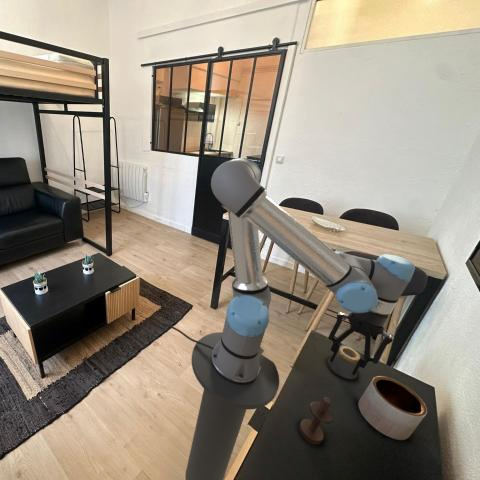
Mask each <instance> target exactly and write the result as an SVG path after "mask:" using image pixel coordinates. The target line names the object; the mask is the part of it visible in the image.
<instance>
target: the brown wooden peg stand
mask: <svg viewBox="0 0 480 480" xmlns="http://www.w3.org/2000/svg"><path fill="white" fill-rule="evenodd" d="M331 403H332V400H331V399H330V398H329V397H327V396H324V397H323V399H322V401H321V402H319V401H313V402H311V403H310V405H309V411H310V413H311V415H312V416H313V419H309V418H304V419H302V421H301V422H300V424H299V426H298V429H299V433H300V434H301V436H302V438H304V440H305V441H307V442H308V443H310V444H311V445H315V446H316V445H317V446H318V445H321V443H322V442H323V440H324V437H325V436H324V435H325V434H324V431H323V429H322V428H321V426H320V424H321V423H322V424H325V425H328V424H331V423H332V422H333V419H334V416H333V413H332V411H331V410H330V408H329V407H330V405H331Z"/></svg>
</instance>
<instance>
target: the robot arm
mask: <svg viewBox="0 0 480 480" xmlns="http://www.w3.org/2000/svg"><path fill="white" fill-rule="evenodd" d="M210 180H211V181H210V188H211V192H212V193H213V195H214V196H215V198H216V199H217V201H219V202H220V203H221V207H222V208H223V209H225V210H226V211H227V216H228V224H229V225H228V226H229V232H230V233H229V234H230V241H231V250H232V257H233V267H234V274H235V277H234V278H233V279H232V280H231V286H232V296H233V298H232V299H231V300H230V302H229V304H228V306H227V308H226V316H225V320H224V324H223V328H222V331H221V332H222V337H221V339H220V340H219V342H218V343H217V344H216V346H215V347H211V346H209V345H206V344H204V343H202V342H199V340H196V339H194V338H191V337H190V336H188V335H187V334H186V333H184V332H183V331H182V330H180V329H178V328H177V327H175V326H172V325H170V324H169V323H167V322H164V323H163V325H164V326H166V327H169V328H170V329H173V330H175V331H177V332H178V333H180V334H181V335H182V336H183V337H185V338H187V339H188V340H189V341H191V342H193V343H195V344H196V343H198V344H201V345H204V346H206V347H208V348H211V349H213V351H212V355H211V362H212V365H213V367H214V369H215V371H216V372H217V373H218V374H219V375H220V376H221V377H222V378H224V379H225V380H227V381H229V382H231V383H234V384H240V385H245V384H250V383H252V382H253V381H255V379H256V378H257V376H258V374H259V371H260V369H261V365H260V366H259V357H258V352H259V349H260V347H261V346H262V342H263V338H264V336H265V333H266V329H268V326H269V321H270V312H269V311H270V305H271V302H272V301H271V300H272V294H271V290H270V288H269V282H268V281H269V280H268V278H266V277H265V276H263V268H262V267H263V266H262V257H261V247H260V245H261V244H260V236H259V235H260V234H259V233H262V234H263V235H264V236H265V237H267V238H268V239H269V240H270V241H272V243H273V244H275V245H276V246H277V247H279V248H280V249H281V250H282V251H283V252H284V253H285V254H287V255H288V256H289V257H290V258H291V259H293V260H294V261H295V262H296V263H297V264H298V265H299V266H301V267H302V268H303V269H305V271H307V272H308V273H309V274H310V275H311V276H313V277H314V278H315V279H316V280H317V281H318V282H320V283H321V284H322V285H323V286H325V288H327V289H328V290H329V291H330V292H331V293H332V294H334V295H335V299H336V301H337V302H338V304H339V306H340V307H341V308H343V309H344V310H345V311H347V312H350V313H344V311H342V310H341V311H338V313H337V315H336V321H335V323H334V325H333V327H332V329H331V330H330V332H329V335H328V336H327V338H328V340H330V341H331V342H332V344H331V347H330V351H331V352H332V353H333V354H332V355H331V357H330V358H331V359H330V361H331V362H333V360H334V358H335V357H336V356H337V354H338V353H339V352H338V350H339V348H340V346H342V342H343V341H344V340H345V339H347V338H348V337H349V336H351V334H353V333H354V332H355V333H357V334H360V335H362V336H363V337H365V338H364V351H363V353H361V354H360V359H359V361H358V362H356V363H355V365H354V366H353V367H354V369H353V372H352V374H353V375H355V374H356V372H357V373H358V371H359V368H361V369H365V368H366V366H367V365H368V363H369V362H371V363H373V364H374V365H375V364H376V365H378V363H379V362H380V359H381V358H382V356H383V353H384V352H385V350H386V348H387V346H388V345H389V344H392V342H393V341H394V337H395V336H394V335H393V334H392V333H388V332H386V331H385V328H384V326H385V325H386V323H387V322H388V319H389V318H390V315H391V314H392V313H393V311H394V310H395V309H394V308H395V307H396V305H397V303H398V302H399V300H400V298H401V296H402V294H403V292H404V291H405V290H406V288H407V286H408V285H409V283H410V282H411V280H412V277H413V275H414V273H415V270H416V265H415V264H414V263H413V261H411V260H409V259H407V258H404V257H402V256H398V255H394V254H388V253H382V254H380V255H379V256H378V258H377V259H376V260H375V259H371V258H365V257H361V256H357V255H354V254H349V253H345V252H342V251H334V250H333V249H332V248H330V246H328V245H327V244H326V243H325V242H323V240H321V239H320V238H319V237H318V236H316V235H315V234H314V233H312V232H311V230H309V229H308V228H307V227H306V226H305V225H303V224H302V223H300V221H298V220H297V219H295V217H293V216H292V215H291V214H289V212H287V211H286V210H284V208H282V206H280V205H279V204H278V203H277V202H275V201H274V200H273V199H271V198H270V197H269V196H268V195H267V194H268V193H267V189H266V188H265V187H264V186H262V184H261V181H262V172H261V169H260V167H259V166H258V165H257V163H256V162H255V161H253V160H251V159H250V158H246V157H236V158H233V159H231V160H227V161H224V162H223V163H221V164H220V165H219V166H217V167H216V169H215V170H214V172H213V174H212V176H211V179H210ZM346 320H347V321H348V323H349V326H348V327H347V328H346V329H345V330H344V331H343V332H341V333H340V334H339V335H337V336H336V334H337V332H338V330H339V328H340V327H341V324H342V323H343V322H345V321H346ZM378 335H379V336H380V335H381V336H380V339H381V341H380V343H379V345H378V347H377V349H376V351H375V353H374V354H373V355H372V353H371V352H372V344H373V343H372V341H373V337H374V336H378Z"/></svg>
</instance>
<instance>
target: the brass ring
mask: <svg viewBox="0 0 480 480" xmlns="http://www.w3.org/2000/svg"><path fill="white" fill-rule="evenodd" d="M345 352H348V353H350V354H352V356H353V357H352V356H350V355H348V354H346V353H345ZM337 353H338V354H339V355H340V357H341V358H342V359H343V360H345V361H346V360H347V362H351V363H357V362H358V361H359V359H360V356H361V354H359V352H357V350H355V349H353V348H352V347H350V346H347V345H341V346H340V348H339V350H338V352H337Z"/></svg>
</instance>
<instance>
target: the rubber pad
mask: <svg viewBox="0 0 480 480" xmlns="http://www.w3.org/2000/svg"><path fill="white" fill-rule="evenodd" d="M330 359H331V357H330V358H329V359H328V360H327V366H328V368H329V369H330V371H331V372H332V373H334V374H335V375H336V376H338V377H339V378H341V379H344V380H347V381H355V380H356V379H357V377H358V371H357V372H356V374H355V375H353V374H352V372H353V369H354V367H355V366H353V365H352V364H351V363H349V361H346V360H345V359H343V358H339V357H336V356H335V358H334V360H333V362H331V361H330Z"/></svg>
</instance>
